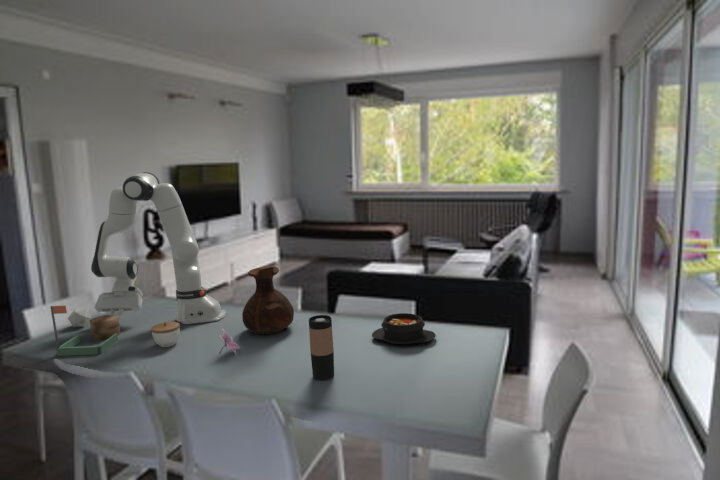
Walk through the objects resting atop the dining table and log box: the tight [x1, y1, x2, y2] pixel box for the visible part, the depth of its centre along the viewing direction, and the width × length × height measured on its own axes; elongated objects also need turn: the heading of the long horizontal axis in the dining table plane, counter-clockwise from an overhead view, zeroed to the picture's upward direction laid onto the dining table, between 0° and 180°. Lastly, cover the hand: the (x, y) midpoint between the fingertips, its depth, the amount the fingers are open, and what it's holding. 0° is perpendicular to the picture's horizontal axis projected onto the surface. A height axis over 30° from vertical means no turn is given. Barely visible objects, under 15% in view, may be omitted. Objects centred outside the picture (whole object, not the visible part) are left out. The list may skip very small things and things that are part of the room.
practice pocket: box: [49, 305, 119, 357], centre depth 202 cm, size 17×14×20 cm
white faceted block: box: [67, 308, 92, 328], centre depth 231 cm, size 8×9×10 cm
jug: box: [241, 265, 295, 335], centre depth 212 cm, size 22×22×30 cm
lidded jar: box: [150, 321, 181, 348], centre depth 203 cm, size 11×11×9 cm
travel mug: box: [308, 314, 335, 382], centre depth 166 cm, size 8×8×20 cm
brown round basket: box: [89, 314, 121, 341], centre depth 217 cm, size 11×11×8 cm
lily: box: [218, 327, 241, 356], centre depth 191 cm, size 11×11×9 cm
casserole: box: [371, 312, 437, 345], centre depth 197 cm, size 25×19×8 cm
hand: (114, 319), depth 225 cm, fingers closed
